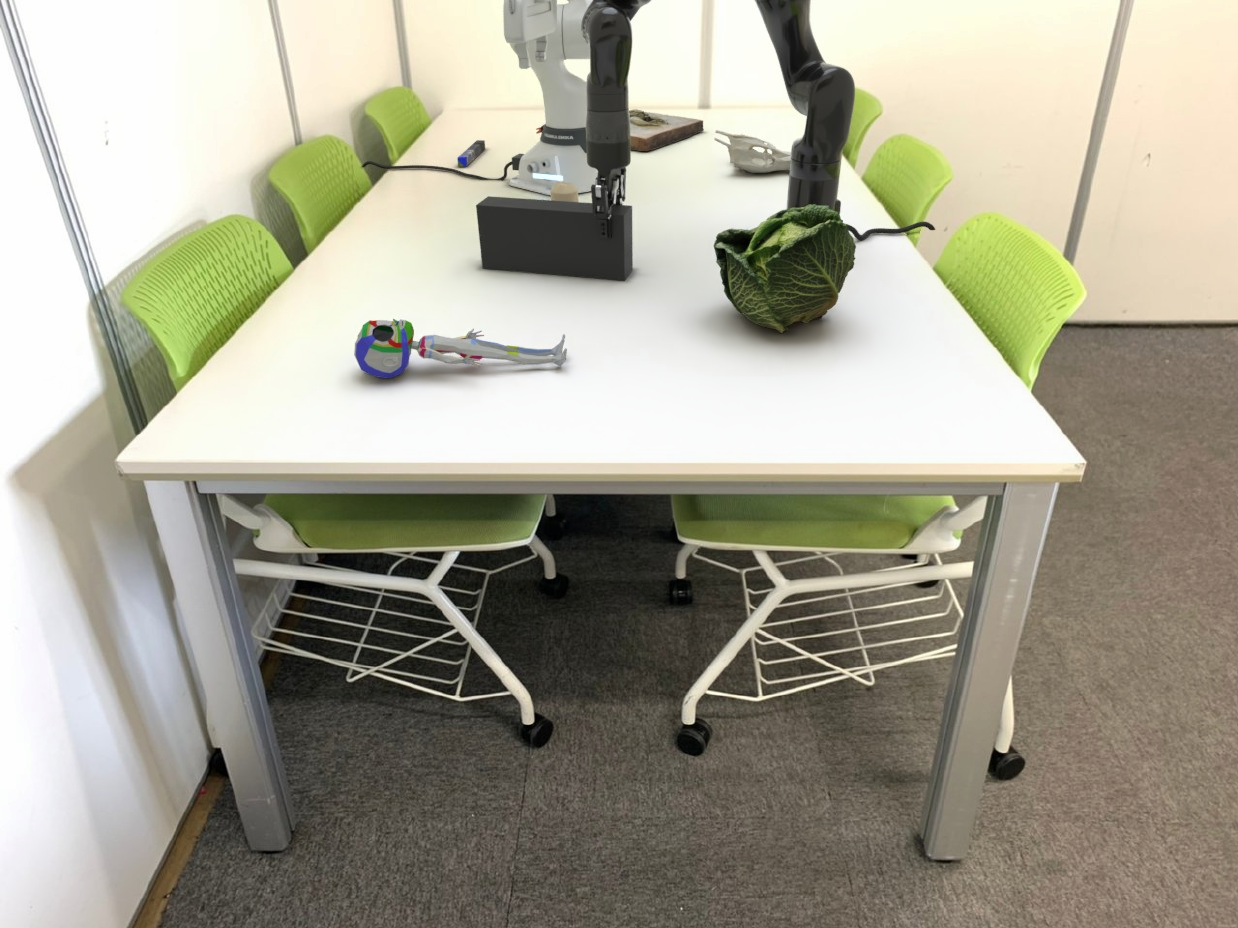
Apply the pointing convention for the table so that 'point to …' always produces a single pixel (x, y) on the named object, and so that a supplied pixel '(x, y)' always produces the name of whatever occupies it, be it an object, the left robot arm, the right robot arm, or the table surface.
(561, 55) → the left robot arm
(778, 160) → the anatomical model
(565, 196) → the candle
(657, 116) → the plaque
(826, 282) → the vegetable
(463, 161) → the pillar
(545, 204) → the box
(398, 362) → the toy
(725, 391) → the table surface
